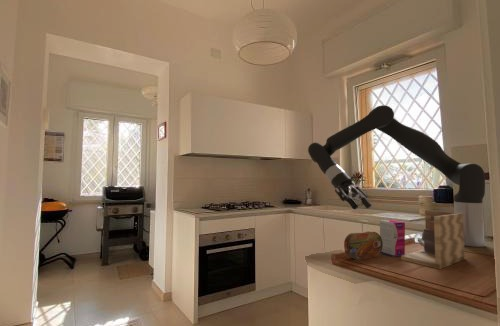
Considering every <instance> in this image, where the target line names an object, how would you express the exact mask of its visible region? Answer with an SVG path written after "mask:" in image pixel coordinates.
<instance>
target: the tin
mask: <svg viewBox="0 0 500 326" xmlns="http://www.w3.org/2000/svg"><path fill="white" fill-rule="evenodd" d="M343 241H344V242H343V249H344V252H345V254H346V256H347V257H349V258H351V259H354V260H356V261H360V260H366V259H374V258H376V257H379V256H380V254H382V253H381V251H382V247H383V243H382V239H381V237H380V233H378V232H376V231H361V232H360V231H359V232H351V233H349V234H347V235H346V237H345V238H344V240H343Z"/></svg>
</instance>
